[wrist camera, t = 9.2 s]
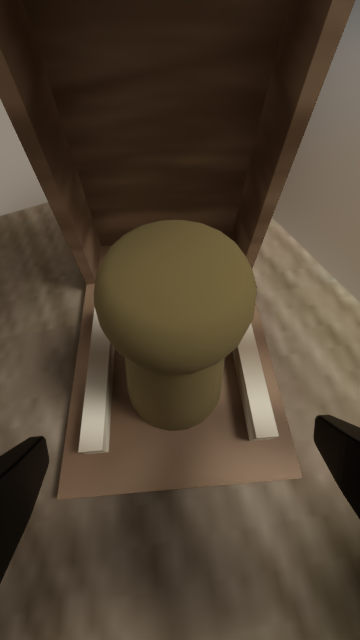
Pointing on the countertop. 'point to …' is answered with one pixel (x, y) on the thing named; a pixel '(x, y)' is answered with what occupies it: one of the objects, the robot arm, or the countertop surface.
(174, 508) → the countertop surface
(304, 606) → the countertop surface
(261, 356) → the wooden stand
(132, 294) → the cork
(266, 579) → the countertop surface
